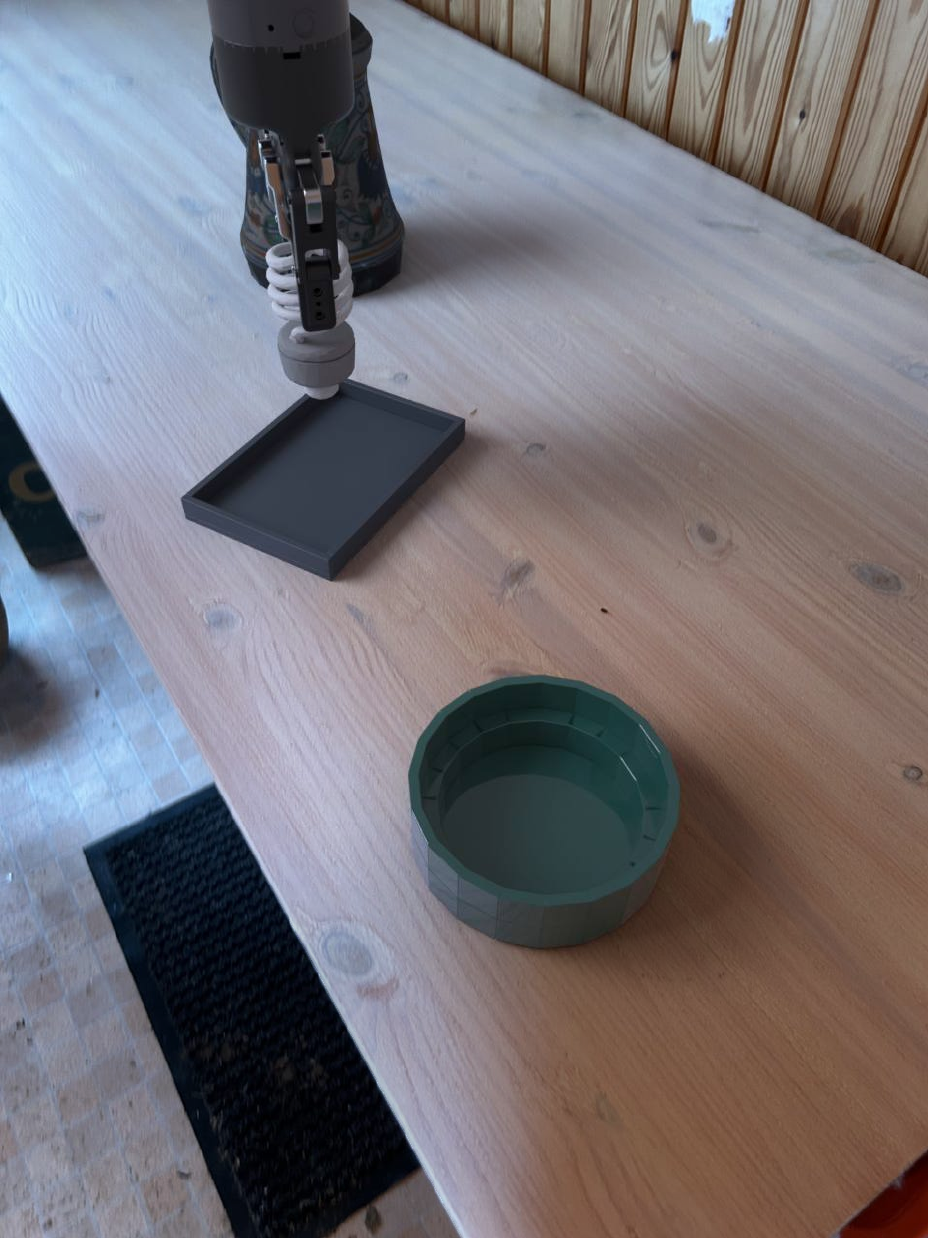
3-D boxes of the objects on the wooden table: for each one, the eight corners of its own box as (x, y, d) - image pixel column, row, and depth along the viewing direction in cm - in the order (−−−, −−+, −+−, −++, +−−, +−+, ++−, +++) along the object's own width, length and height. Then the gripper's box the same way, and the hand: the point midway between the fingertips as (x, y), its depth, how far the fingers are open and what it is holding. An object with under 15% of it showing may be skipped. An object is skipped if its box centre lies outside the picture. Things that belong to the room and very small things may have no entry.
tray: (330, 581, 68) (328, 560, 66) (185, 518, 72) (179, 497, 70) (465, 439, 79) (465, 418, 78) (332, 392, 83) (330, 372, 82)
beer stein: (382, 311, 93) (366, 15, 74) (192, 289, 95) (131, -3, 77) (422, 234, 104) (416, -40, 85) (250, 216, 106) (209, -54, 88)
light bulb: (330, 430, 67) (312, 267, 59) (267, 405, 69) (241, 243, 61) (376, 391, 71) (366, 231, 62) (315, 368, 73) (298, 210, 64)
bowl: (601, 1000, 48) (613, 958, 44) (362, 870, 52) (355, 822, 49) (700, 789, 56) (717, 739, 53) (487, 693, 61) (489, 641, 57)
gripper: (198, -15, 56) (242, 261, 69) (223, 67, 47) (270, 369, 59) (325, -22, 58) (346, 249, 70) (375, 55, 48) (389, 353, 61)
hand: (311, 303), depth 65 cm, fingers closed on light bulb, 5 cm apart
